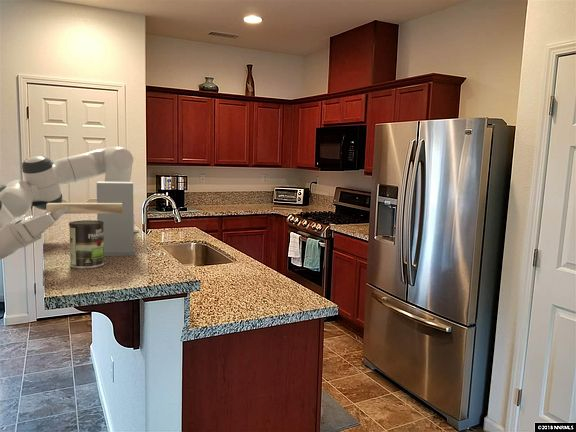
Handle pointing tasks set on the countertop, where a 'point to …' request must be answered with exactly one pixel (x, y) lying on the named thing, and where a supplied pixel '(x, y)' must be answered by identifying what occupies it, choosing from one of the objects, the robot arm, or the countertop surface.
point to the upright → (117, 218)
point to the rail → (86, 208)
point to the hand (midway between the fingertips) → (69, 206)
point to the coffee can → (86, 244)
